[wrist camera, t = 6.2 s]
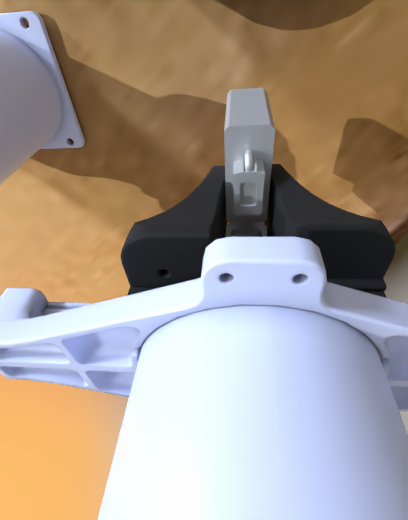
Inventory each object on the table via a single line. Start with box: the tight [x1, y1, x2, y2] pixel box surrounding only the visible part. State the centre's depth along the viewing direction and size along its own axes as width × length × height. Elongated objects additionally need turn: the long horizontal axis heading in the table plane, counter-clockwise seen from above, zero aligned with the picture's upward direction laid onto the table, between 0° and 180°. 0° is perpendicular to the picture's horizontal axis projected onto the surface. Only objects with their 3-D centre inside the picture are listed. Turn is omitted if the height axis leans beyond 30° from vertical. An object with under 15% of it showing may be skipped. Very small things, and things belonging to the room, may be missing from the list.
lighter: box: [224, 88, 275, 237], centre depth 13 cm, size 7×2×8 cm, turn 4°
